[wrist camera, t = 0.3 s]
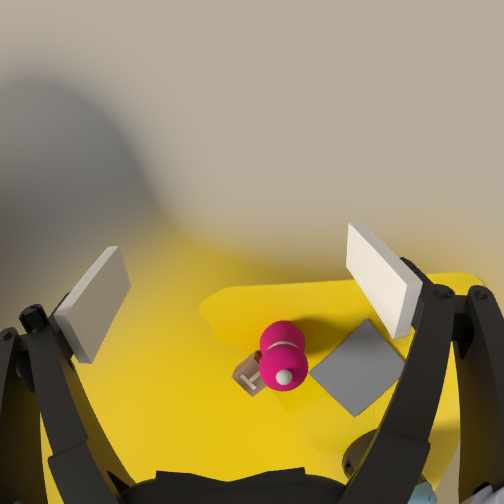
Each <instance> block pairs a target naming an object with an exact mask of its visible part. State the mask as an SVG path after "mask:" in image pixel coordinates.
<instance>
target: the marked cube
mask: <svg viewBox="0 0 504 504" xmlns="http://www.w3.org/2000/svg"><path fill="white" fill-rule="evenodd" d="M261 357H262V356H261V355H260V354H259V353H258V352H257V351H255V352H254V353H252V354H251V355H250V356H249V357H248V358H247V359H245V360H244V361H243V362H242V363H240V364H239V365H238V366H237V367H236V368H235V370H234V373H233V375H232V378H233V379H234V380H235V381H236V382H237V383H238V384H239V385H240V386H241V387H242V388H243V389H244V390H246V391H247V392H248V393H249V394H250V395H251V396H252V397H253V396H254V395H256V394H257V393H258V392H259V391H261V390H262V389H263V388H265V387H266V386H267V385H266V384H265V383H264V382H263V380H262V379H261V376H260V373H259V363H260V360H261Z"/></svg>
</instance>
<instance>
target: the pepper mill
mask: <svg viewBox="0 0 504 504" xmlns="http://www.w3.org/2000/svg"><path fill="white" fill-rule="evenodd" d="M304 348H305V340H304V336H303V334H302V332H301V331H300V330H299V328H297V327H296V326H295V325H293V324H292V323H290V322H287V321H277V322H275V323H273V324H271V325H270V326H269V327H268V328H267V329H266V330H265V331H264V332H263V334H262V336H261V339H260V350H261V353H262V355H263V356H262V357H261V360H260V363H259V373H260V376H261V379H262V380H263V382H264V383H265V384H266V385H267V386H268V387H270V388H271V389H274V390H277V391H289V390H292V389H295V388H296V387H298V386H299V385H301V384H302V382H303V381H304V380H305V378H306V376H307V373H308V361H307V358H306V356H305V355H304V353H303V352H304Z"/></svg>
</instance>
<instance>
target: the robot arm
mask: <svg viewBox="0 0 504 504" xmlns="http://www.w3.org/2000/svg"><path fill="white" fill-rule="evenodd" d="M346 267H347V268H348V270H349V271H350V272H351V274H352V275H353V277H354V278H355V280H356V281H357V283H358V284H359V286H360V287H361V289H362V291H363V292H364V294H365V295H366V297H367V298H368V300H369V301H370V303H371V304H372V306H373V308H374V309H375V311H376V312H377V314H378V315H379V317H380V319H381V320H382V322H383V324H384V325H385V327H386V328H387V330H388V332H389V333H390V335H391V337H392V338H393V339H398V338H402V337H406V336H408V334H409V331H410V328H411V325H412V327H413V328H414V329H415V334H414V337H413V340H412V343H411V346H410V349H409V353H408V356H407V358H406V361H405V364H404V367H403V370H402V372H401V375H400V378H399V380H398V383H397V385H396V388H395V390H394V393H393V395H392V398H391V400H390V402H389V405H388V407H387V409H386V411H385V414H384V416H383V418H382V420H381V422H380V424H379V427H378V429H376V430H373V431H370V432H368V433H366V434H364V435H362V436H361V437H359V438H358V439H357V440H355V441H354V442H353V443H352V444H351V445H350V446H349V448H348V449H347V450H346V452H345V454H344V456H343V460H342V467H343V470H344V473H345V475H346V477H347V478H348V479H349V481H348V482H347V484H346V485H344V484H342V483H340V482H338V481H336V480H333V479H330V478H326V477H322V476H318V475H308V474H305V469H304V467H300V468H294V469H286V470H278V471H267V472H264V473H261V474H257V475H254V476H250V477H247V478H243V479H239V480H235V481H231V482H225V481H219V480H216V479H211V478H206V477H202V476H199V475H195V474H191V473H178V472H166V471H156V478H155V479H150V480H146V481H142V482H140V483H135V481H134V480H133V479H132V478H131V477H130V476H129V474H128V473H127V471H126V470H125V468H124V466H123V465H122V463H121V461H120V460H119V458H118V457H117V455H116V453H115V451H114V450H113V448H112V446H111V444H110V442H109V441H108V439H107V437H106V435H105V433H104V431H103V429H102V428H101V426H100V423H99V422H98V419H97V417H96V415H95V413H94V411H93V409H92V407H91V405H90V403H89V400H88V398H87V396H86V394H85V391H84V389H83V387H82V384H81V382H80V379H79V377H78V374H77V371H76V369H75V366H74V364H73V362H72V361H71V357H72V356H73V354H74V355H75V357H76V358H77V360H78V362H79V363H88V364H92V363H93V361H94V358H95V356H96V354H97V352H98V350H99V348H100V346H101V344H102V342H103V340H104V338H105V336H106V334H107V332H108V329H109V327H110V326H111V323H112V321H113V320H114V318H115V316H116V314H117V312H118V310H119V308H120V306H121V304H122V302H123V300H124V299H125V297H126V295H127V293H128V291H129V289H130V287H131V284H130V281H129V278H128V274H127V271H126V268H125V265H124V261H123V258H122V254H121V251H120V247H119V246H112V247H108V248H107V249H106V250H105V251H104V252H103V253H102V255H101V256H100V257H99V258H98V259H97V260H96V262H95V263H94V264H93V265H92V266H91V268H90V269H89V270H88V271H87V272H86V273H85V275H84V276H83V277H82V278H81V280H80V281H79V282H78V283H77V284H76V286H75V287H74V288H73V289H72V290H71V291H70V292H69V293H67V294H66V295H65V296H64V298H63V299H62V300H61V302H60V303H59V304H58V307H56V308H55V310H54V311H53V312H52V313H51V315H50V316H49V318H47V316H46V313H45V311H44V310H43V307H42V306H41V305H40V304H34V305H31V306H30V307H27V308H26V309H25V310H24V311H22V312H21V314H20V316H19V319H20V321H21V323H22V325H23V327H24V329H25V331H26V332H27V334H23V335H19V334H18V332H17V330H16V329H15V328H14V327H11V328H7V329H4V330H3V331H1V333H0V504H48V500H47V494H46V487H45V480H44V473H43V464H42V453H41V435H40V412H41V416H42V419H43V423H44V427H45V430H46V434H47V437H48V440H49V443H50V446H51V449H52V452H53V455H52V456H50V457H49V458H48V464H49V468H50V471H51V473H52V476H53V478H54V481H55V483H56V486H57V488H58V491H59V493H60V495H61V498H62V500H63V502H64V504H436V502H437V498H436V495H435V493H434V491H433V490H432V486H431V484H430V483H428V481H427V480H426V478H425V477H424V476H423V474H422V473H421V472H422V470H423V467H424V465H425V462H426V459H427V456H428V454H429V450H430V443H429V442H428V438H429V435H430V432H431V428H432V425H433V422H434V419H435V415H436V412H437V408H438V404H439V400H440V396H441V392H442V388H443V383H444V379H445V374H446V369H447V363H448V358H449V352H450V345H451V341H452V342H453V349H454V355H455V362H456V370H457V379H458V389H459V402H460V425H461V447H460V450H461V451H460V471H459V488H458V492H459V504H504V318H503V316H502V313H501V311H500V308H499V306H498V304H497V302H496V299H495V297H494V295H493V294H492V292H491V291H490V290H489V289H488V288H486V287H484V286H479V285H474V286H471V287H470V289H469V291H468V294H467V295H455V292H454V291H453V290H452V289H451V288H449V287H448V286H445V285H441V284H433V283H432V282H431V281H430V280H429V279H428V278H427V276H426V275H425V274H424V273H422V272H421V271H420V270H419V269H418V268H417V267H416V266H415V265H414V264H413V263H412V262H411V261H409V260H407V259H405V258H404V257H401V258H398V256H397V255H396V254H395V253H393V251H391V250H390V249H389V248H388V247H387V246H386V245H385V244H384V243H383V242H382V241H381V240H380V239H379V238H378V237H377V236H376V235H375V234H374V233H372V232H371V231H370V230H369V229H368V228H367V227H366V226H365V225H364V224H362V222H351V223H349V227H348V245H347V260H346Z"/></svg>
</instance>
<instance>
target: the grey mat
mask: <svg viewBox="0 0 504 504" xmlns="http://www.w3.org/2000/svg"><path fill="white" fill-rule="evenodd" d="M404 364H405V363H404V361H403V360H402V359H401V358H400V357H399V355H398V354H397V353H396V352H395V351H394V350H393V348H392V347H391V346H390V345H389V344H388V343H387V341H386V340H385V339H384V338H383V337H382V336H381V334H380V333H379V332H378V331H377V330H376V329H375V328H374V326H373V325H372V324H371V323H370V322H369V321H368V320H367V319H365V320H364V321H363V322H362V323H361V324H360V325H359V326H358V327H357V328H356V329H355V330H354V331H353V332H352V333H351V334H350V335H349V336H348V337H347V338H346V339H345V340H344V341H343V342H342V343H341V344H339V345H338V346H337V347H336V348H335V349H334V350H333V351H332V352H331V353H330V354H329V355H327V356H326V357H325V358H324V359H323V360H322V361H321V362H319V363H318V364H317V365H316V366H315V367H314V368H313V369H311V370H310V371H309V374H310V375H311V376H312V377H313V378H314V379H315V380H316V381H317V382H318V383H319V384H320V385H321V386H322V387H323V388H324V389H325V390H326V391H327V392H328V393H329V394H330V395H331V396H332V397H333V398H334V399H335V400H337V401H338V402H339V403H340V404H341V405H342V406H343V407H344V408H345V409H346V410H347V411H348V412H349V413H350V414H351V415H352V416H353V417H356V416H357V415H358V414H360V413H361V412H362V411H363V410H364V409H365V408H367V407H368V406H369V405H370V404H371V403H372V402H374V401H375V400H376V399H377V398H378V397H379V396H380V395H381V394H382V393H384V392H385V391H386V390H387V389H388V388H389V387H390V386H391V385H392V384H393V383H394V382H395V381H396V380H397V379H398V378H399V377H400V375H401V372H402V370H403V367H404Z"/></svg>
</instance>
